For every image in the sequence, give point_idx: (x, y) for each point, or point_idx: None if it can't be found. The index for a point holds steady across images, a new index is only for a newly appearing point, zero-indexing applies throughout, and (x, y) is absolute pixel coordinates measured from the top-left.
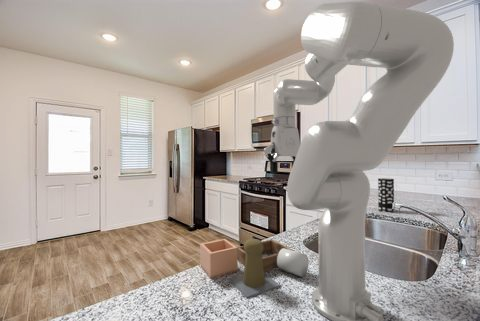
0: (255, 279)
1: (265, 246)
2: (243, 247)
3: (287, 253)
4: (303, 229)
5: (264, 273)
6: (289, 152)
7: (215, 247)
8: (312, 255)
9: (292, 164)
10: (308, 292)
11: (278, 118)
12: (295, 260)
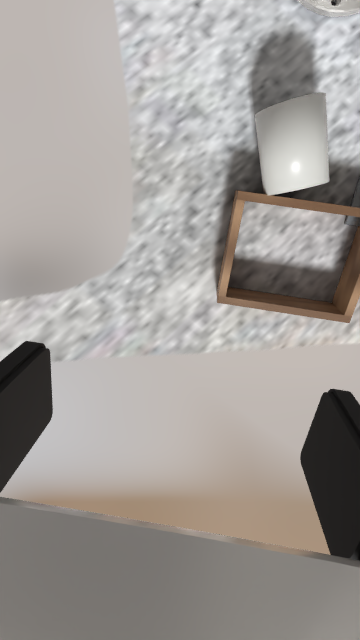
0: None
1: (247, 295)
2: (330, 312)
3: (317, 152)
4: (8, 343)
5: (356, 193)
6: (185, 614)
7: None
8: (149, 189)
9: (7, 469)
10: (351, 39)
11: None
12: (323, 111)
